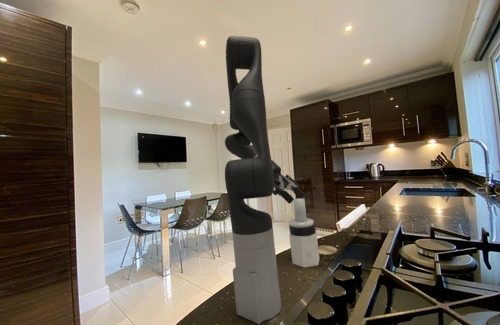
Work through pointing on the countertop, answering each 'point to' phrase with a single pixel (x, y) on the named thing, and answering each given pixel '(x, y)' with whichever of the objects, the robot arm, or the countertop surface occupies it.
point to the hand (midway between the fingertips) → (298, 199)
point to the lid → (300, 215)
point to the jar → (304, 246)
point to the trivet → (326, 249)
